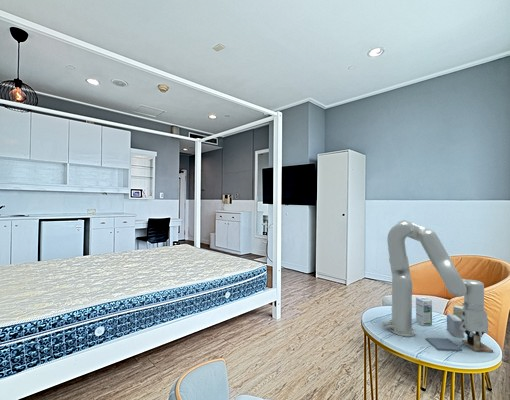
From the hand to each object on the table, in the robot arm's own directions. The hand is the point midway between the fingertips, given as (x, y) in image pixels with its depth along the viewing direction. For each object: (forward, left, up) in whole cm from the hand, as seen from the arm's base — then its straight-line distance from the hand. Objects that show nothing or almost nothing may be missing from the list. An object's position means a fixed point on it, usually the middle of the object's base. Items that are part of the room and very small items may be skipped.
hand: (473, 343), depth 127 cm
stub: (+2, 0, -1) cm, 2 cm away
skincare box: (+7, +19, -2) cm, 20 cm away
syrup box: (-10, +24, -2) cm, 26 cm away
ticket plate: (-14, 0, -1) cm, 14 cm away
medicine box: (0, +13, -2) cm, 13 cm away
